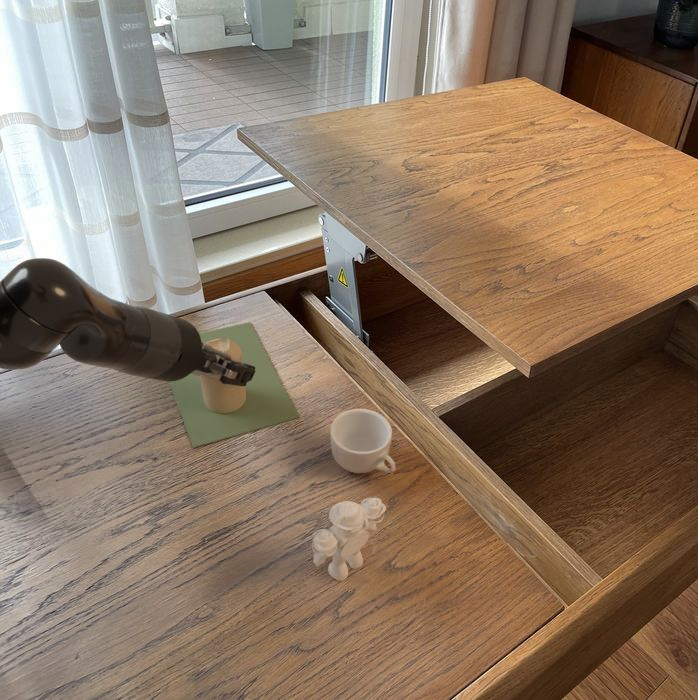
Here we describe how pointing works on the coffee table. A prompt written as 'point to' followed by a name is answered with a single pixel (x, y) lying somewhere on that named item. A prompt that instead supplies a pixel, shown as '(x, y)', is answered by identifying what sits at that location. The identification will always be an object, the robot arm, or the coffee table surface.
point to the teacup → (361, 441)
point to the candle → (215, 391)
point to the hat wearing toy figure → (346, 535)
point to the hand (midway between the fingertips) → (230, 364)
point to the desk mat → (261, 394)
